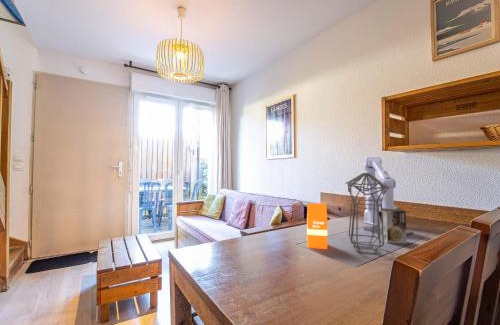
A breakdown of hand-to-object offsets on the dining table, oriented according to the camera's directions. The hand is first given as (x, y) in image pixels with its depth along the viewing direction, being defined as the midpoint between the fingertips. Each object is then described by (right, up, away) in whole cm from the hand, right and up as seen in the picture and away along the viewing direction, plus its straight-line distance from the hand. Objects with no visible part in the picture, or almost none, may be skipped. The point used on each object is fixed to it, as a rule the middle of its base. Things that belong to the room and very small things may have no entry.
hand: (388, 222), depth 137 cm
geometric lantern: (-28, -5, -31) cm, 42 cm away
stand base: (0, -5, 0) cm, 5 cm away
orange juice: (-48, -5, -25) cm, 54 cm away
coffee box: (-8, -5, -18) cm, 21 cm away
